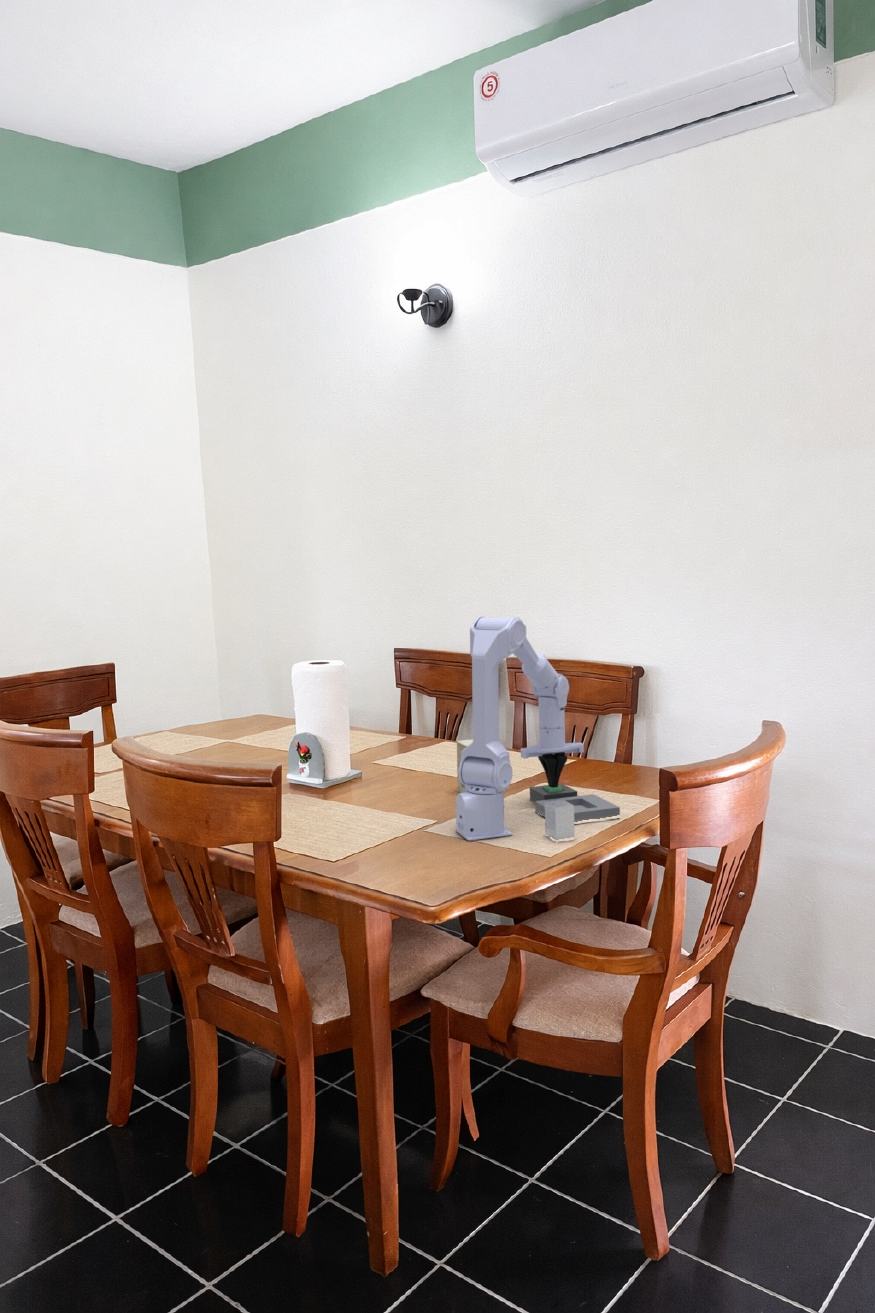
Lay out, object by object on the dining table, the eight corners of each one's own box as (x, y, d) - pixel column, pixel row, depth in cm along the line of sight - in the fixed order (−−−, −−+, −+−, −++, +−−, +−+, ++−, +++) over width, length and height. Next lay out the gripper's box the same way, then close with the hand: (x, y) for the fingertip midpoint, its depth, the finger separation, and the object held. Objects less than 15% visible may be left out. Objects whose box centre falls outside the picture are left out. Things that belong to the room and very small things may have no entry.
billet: (555, 842, 194) (555, 807, 193) (545, 836, 199) (544, 801, 198) (574, 840, 195) (573, 805, 194) (563, 833, 200) (563, 799, 199)
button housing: (544, 808, 219) (544, 795, 218) (530, 800, 226) (529, 787, 226) (577, 804, 221) (577, 791, 221) (562, 796, 229) (561, 783, 228)
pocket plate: (558, 826, 205) (558, 815, 204) (535, 812, 216) (535, 801, 216) (619, 818, 209) (619, 807, 208) (593, 805, 220) (593, 794, 220)
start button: (549, 797, 222) (549, 788, 221) (543, 794, 225) (543, 785, 224) (562, 795, 222) (562, 787, 222) (556, 792, 226) (556, 784, 225)
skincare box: (457, 791, 237) (455, 740, 235) (473, 788, 238) (472, 738, 237) (467, 797, 231) (465, 745, 229) (484, 795, 232) (483, 743, 231)
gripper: (573, 721, 228) (574, 779, 229) (514, 726, 223) (516, 786, 225) (587, 726, 221) (588, 786, 223) (527, 732, 217) (528, 793, 218)
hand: (553, 786), depth 223 cm, fingers closed, pressing on start button
